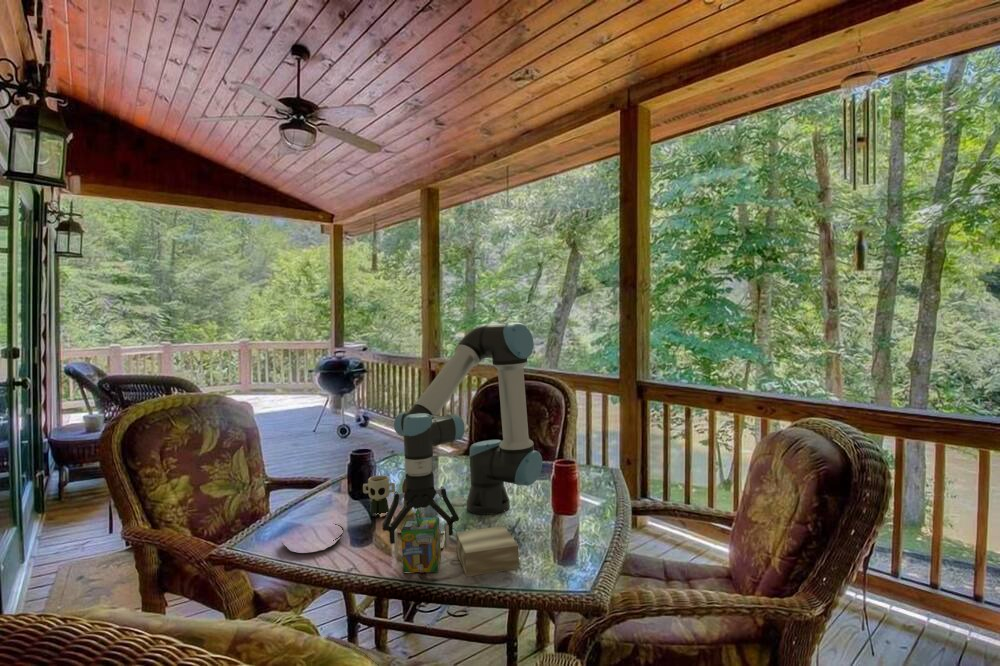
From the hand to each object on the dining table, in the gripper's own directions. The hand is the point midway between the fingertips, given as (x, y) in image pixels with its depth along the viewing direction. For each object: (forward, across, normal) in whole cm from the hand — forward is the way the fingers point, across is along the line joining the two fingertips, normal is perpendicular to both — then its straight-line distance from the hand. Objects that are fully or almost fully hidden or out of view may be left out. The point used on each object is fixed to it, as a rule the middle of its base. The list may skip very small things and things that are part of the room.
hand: (422, 551), depth 136 cm
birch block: (+4, +17, -3) cm, 18 cm away
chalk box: (+4, 0, 0) cm, 4 cm away
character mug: (+4, -10, +42) cm, 43 cm away
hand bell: (+4, -2, +27) cm, 27 cm away
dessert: (+5, +2, +15) cm, 16 cm away
